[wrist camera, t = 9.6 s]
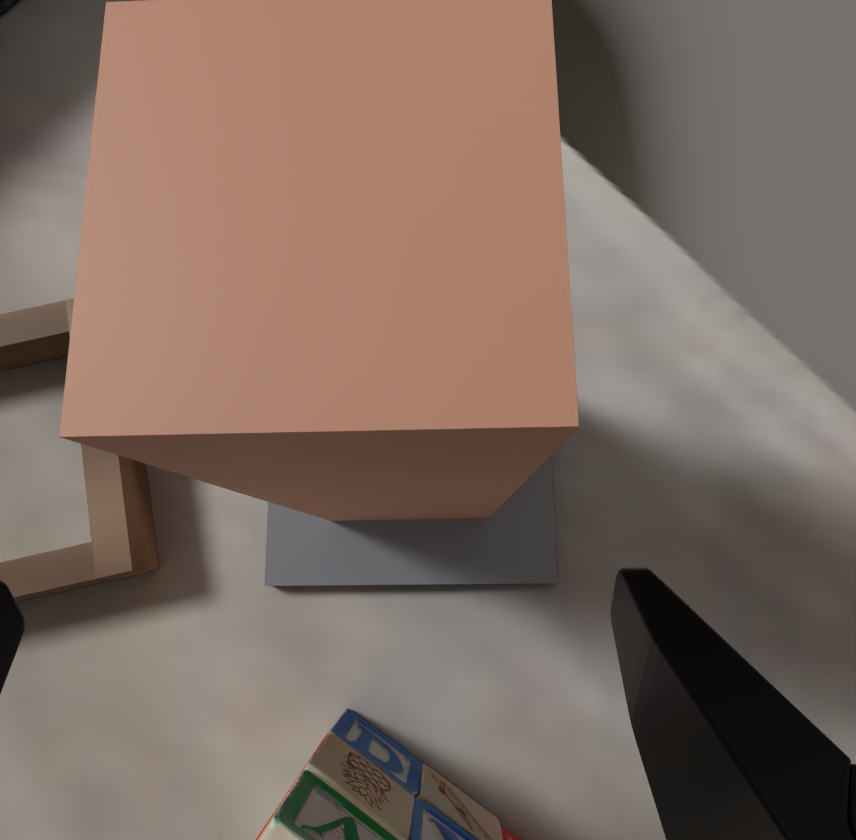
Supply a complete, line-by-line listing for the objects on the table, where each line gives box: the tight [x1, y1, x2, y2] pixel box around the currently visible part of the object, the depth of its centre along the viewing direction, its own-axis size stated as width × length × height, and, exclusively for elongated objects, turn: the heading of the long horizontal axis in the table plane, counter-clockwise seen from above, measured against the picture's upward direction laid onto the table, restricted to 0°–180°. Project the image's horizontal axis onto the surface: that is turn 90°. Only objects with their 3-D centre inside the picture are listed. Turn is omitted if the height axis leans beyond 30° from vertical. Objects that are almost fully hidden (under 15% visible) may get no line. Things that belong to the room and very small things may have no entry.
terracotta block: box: [59, 0, 579, 521], centre depth 15 cm, size 6×6×16 cm
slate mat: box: [265, 454, 558, 586], centre depth 23 cm, size 10×10×1 cm
